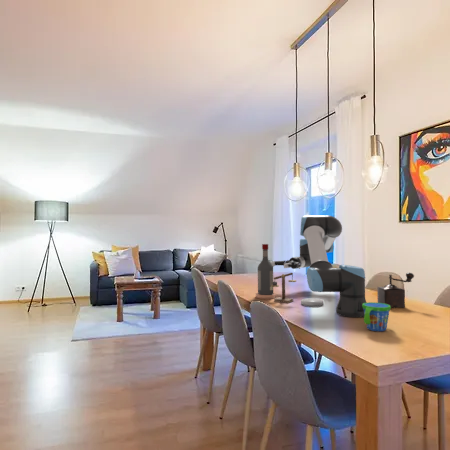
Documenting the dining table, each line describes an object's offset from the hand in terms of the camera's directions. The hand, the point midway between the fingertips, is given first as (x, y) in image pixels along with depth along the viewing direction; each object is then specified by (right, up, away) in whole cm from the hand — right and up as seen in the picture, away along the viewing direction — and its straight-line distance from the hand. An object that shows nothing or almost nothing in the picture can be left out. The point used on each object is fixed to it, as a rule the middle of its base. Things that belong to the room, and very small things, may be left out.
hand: (275, 265), depth 223 cm
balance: (+2, -18, -20) cm, 27 cm away
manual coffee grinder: (+59, -18, -33) cm, 70 cm away
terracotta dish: (-7, -19, -7) cm, 21 cm away
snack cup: (+30, -18, -77) cm, 85 cm away
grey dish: (+16, -18, -28) cm, 37 cm away
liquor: (-7, -17, -7) cm, 19 cm away
